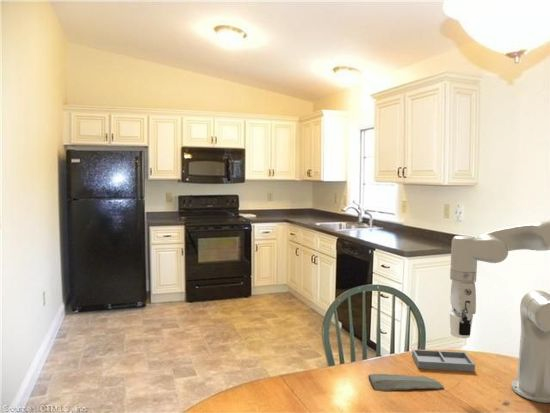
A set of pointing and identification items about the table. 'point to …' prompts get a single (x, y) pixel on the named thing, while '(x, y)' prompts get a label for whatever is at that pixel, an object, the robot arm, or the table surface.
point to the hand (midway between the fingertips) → (460, 329)
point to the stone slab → (402, 382)
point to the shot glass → (456, 324)
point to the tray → (443, 360)
